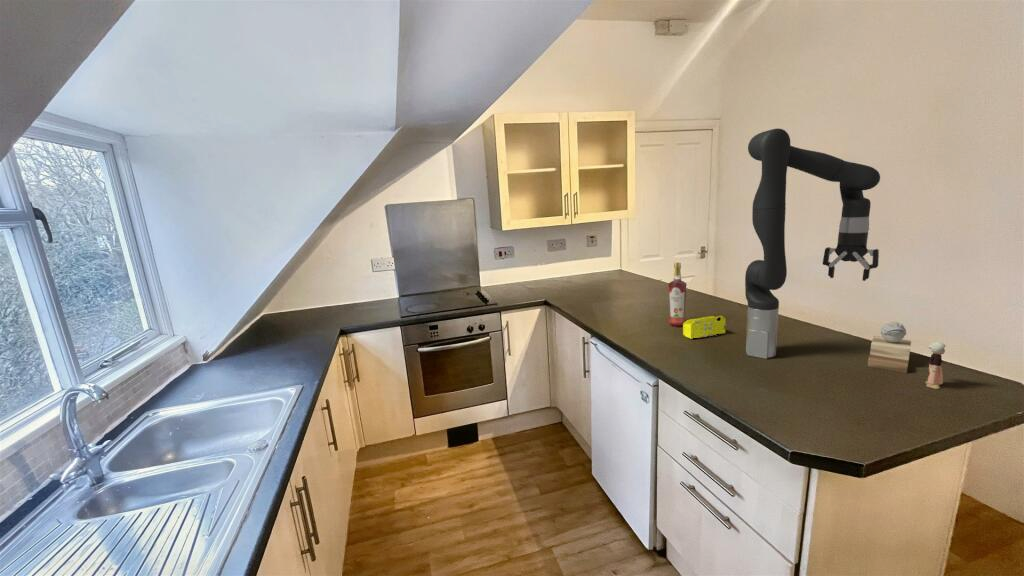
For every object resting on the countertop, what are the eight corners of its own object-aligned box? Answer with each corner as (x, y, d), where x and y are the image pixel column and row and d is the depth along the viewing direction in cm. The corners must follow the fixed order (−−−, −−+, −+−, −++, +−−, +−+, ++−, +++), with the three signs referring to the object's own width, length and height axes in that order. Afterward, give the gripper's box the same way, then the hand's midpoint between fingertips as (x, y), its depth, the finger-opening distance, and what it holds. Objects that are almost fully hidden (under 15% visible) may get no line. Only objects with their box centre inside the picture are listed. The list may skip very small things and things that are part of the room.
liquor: (687, 323, 184) (688, 261, 178) (684, 328, 178) (685, 264, 172) (670, 321, 188) (670, 261, 182) (666, 326, 182) (666, 264, 176)
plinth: (906, 373, 123) (909, 354, 122) (867, 366, 130) (869, 348, 128) (908, 358, 133) (911, 340, 132) (872, 352, 139) (874, 335, 138)
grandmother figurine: (946, 391, 112) (953, 347, 109) (927, 389, 114) (933, 346, 111) (937, 380, 118) (944, 338, 115) (919, 378, 120) (925, 337, 117)
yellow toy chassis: (691, 341, 163) (691, 321, 161) (682, 336, 169) (682, 317, 167) (726, 335, 166) (726, 315, 165) (716, 331, 172) (716, 312, 170)
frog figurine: (883, 345, 130) (885, 324, 128) (875, 338, 136) (878, 317, 135) (908, 346, 127) (911, 325, 126) (899, 339, 133) (902, 318, 132)
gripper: (824, 231, 137) (819, 278, 141) (880, 232, 127) (874, 283, 130) (828, 229, 142) (824, 275, 146) (883, 230, 132) (877, 279, 135)
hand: (847, 279), depth 138 cm, fingers open, 8 cm apart
